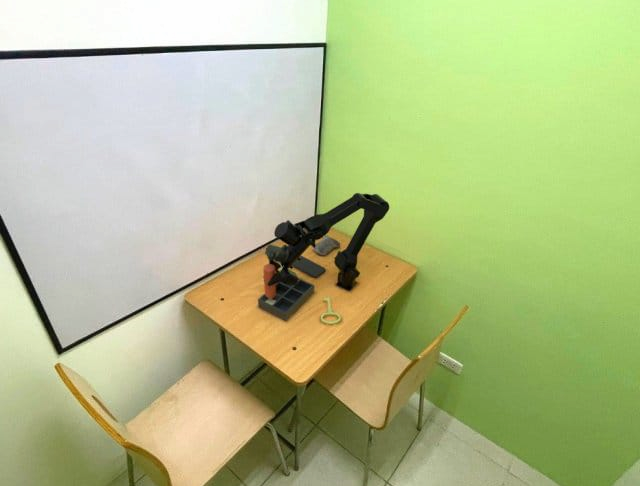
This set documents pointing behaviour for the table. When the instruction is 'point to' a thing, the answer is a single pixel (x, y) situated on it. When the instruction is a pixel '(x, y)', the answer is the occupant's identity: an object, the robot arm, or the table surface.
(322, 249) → the stone
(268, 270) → the reddish brown cylinder
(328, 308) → the key
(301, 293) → the grid
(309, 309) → the table surface
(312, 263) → the phone
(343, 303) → the table surface
